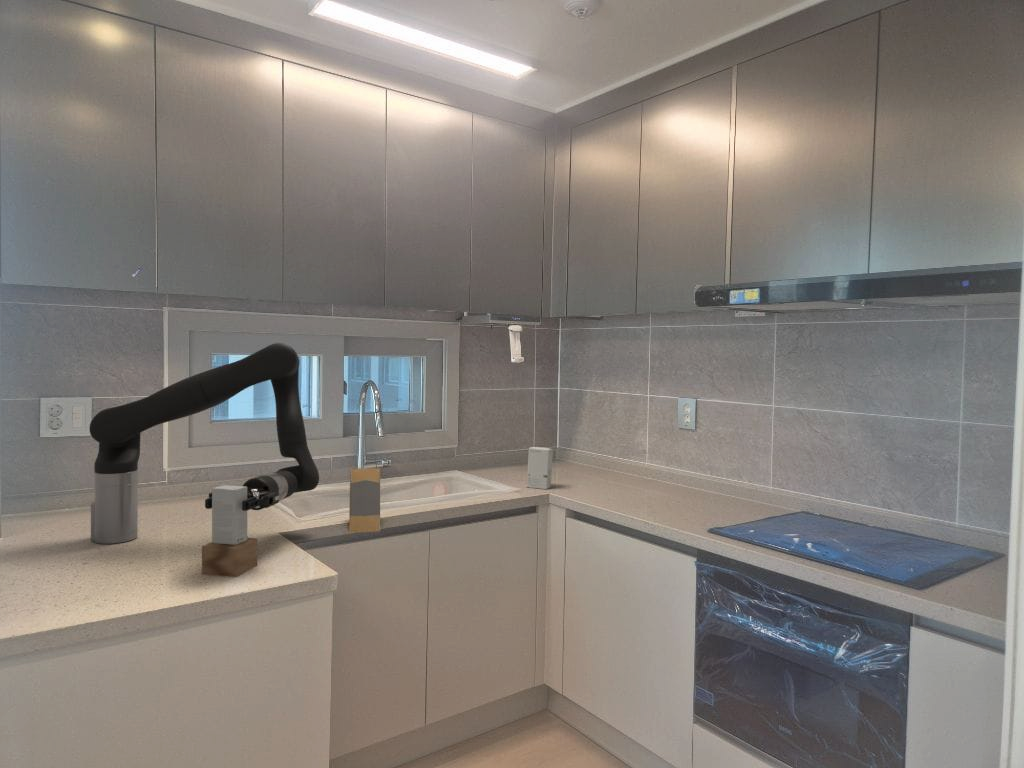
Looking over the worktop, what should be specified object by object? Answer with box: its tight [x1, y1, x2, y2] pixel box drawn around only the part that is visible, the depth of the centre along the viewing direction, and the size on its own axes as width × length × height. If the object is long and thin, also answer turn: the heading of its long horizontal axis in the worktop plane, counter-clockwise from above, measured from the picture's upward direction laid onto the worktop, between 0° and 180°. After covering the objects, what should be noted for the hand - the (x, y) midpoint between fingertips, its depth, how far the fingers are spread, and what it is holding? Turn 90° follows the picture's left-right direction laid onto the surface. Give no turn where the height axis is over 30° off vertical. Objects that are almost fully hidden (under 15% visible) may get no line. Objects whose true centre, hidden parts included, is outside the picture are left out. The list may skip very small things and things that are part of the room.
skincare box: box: [211, 484, 248, 545], centre depth 139 cm, size 6×4×12 cm
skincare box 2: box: [526, 446, 554, 490], centre depth 239 cm, size 8×6×15 cm
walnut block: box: [201, 537, 258, 578], centre depth 139 cm, size 8×8×6 cm
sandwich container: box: [348, 467, 381, 533], centre depth 179 cm, size 9×15×15 cm, turn 13°
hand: (225, 505), depth 137 cm, fingers open, 8 cm apart
